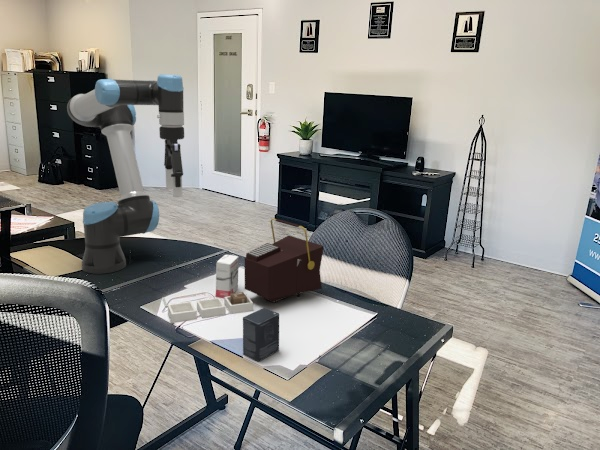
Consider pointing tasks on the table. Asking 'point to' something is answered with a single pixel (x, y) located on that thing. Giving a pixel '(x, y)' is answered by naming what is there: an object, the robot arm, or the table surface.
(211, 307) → the bins
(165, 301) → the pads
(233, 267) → the ink box
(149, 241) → the table surface
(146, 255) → the table surface
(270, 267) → the brown boxy machine
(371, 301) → the table surface
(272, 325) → the box
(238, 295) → the letter cube
